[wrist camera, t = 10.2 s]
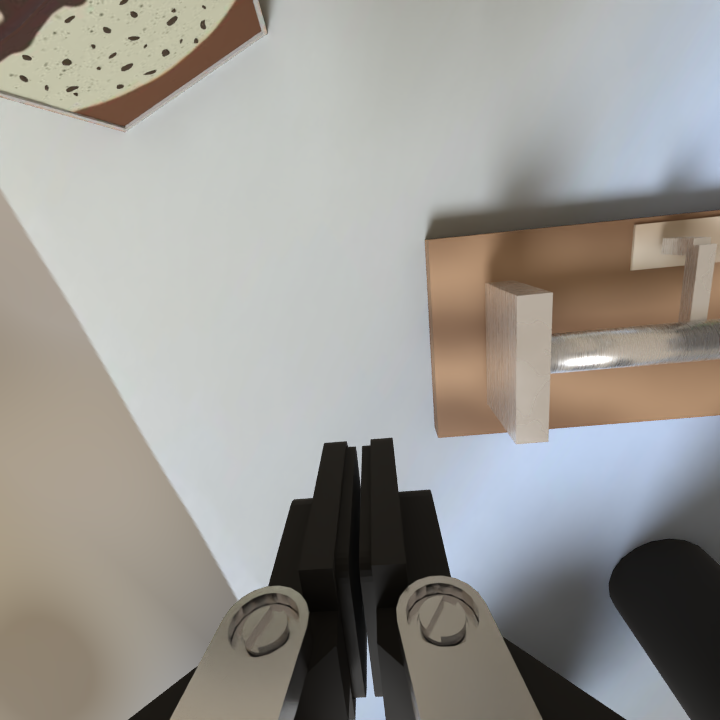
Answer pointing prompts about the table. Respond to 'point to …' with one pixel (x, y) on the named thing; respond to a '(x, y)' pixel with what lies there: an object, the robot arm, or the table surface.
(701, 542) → the table surface
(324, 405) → the table surface
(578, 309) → the gauge board
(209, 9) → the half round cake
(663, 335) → the plunger
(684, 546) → the wine bottle
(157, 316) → the table surface
